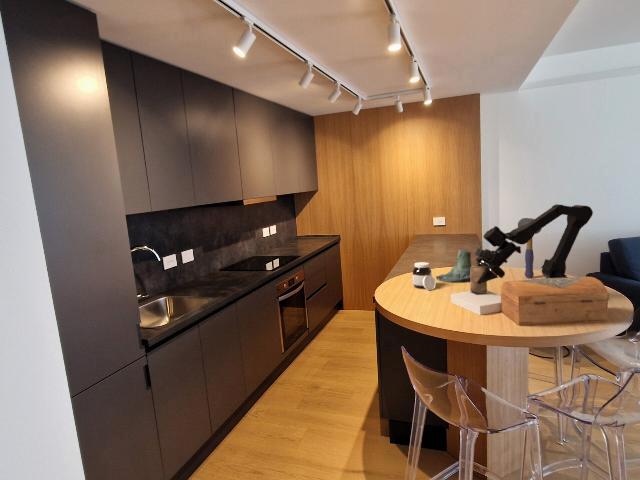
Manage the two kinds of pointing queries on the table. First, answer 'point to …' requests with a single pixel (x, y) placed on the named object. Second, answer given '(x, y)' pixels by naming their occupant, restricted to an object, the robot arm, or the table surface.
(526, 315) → the wooden box
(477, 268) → the walnut peg
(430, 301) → the table surface
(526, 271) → the rubber mallet
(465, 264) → the tree stump
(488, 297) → the white board
